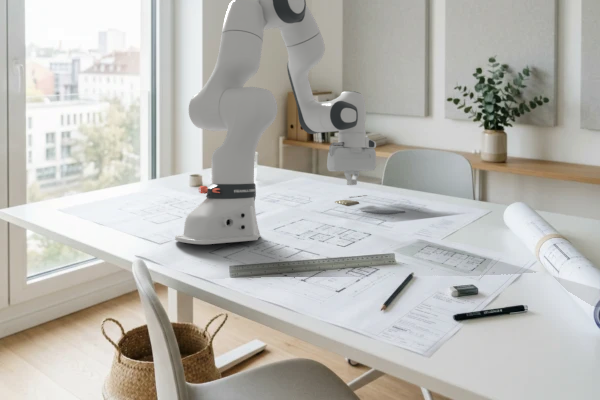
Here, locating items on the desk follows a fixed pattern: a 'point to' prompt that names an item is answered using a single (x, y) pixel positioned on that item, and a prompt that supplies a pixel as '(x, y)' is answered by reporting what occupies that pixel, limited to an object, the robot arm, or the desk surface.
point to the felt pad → (384, 211)
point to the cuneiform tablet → (348, 201)
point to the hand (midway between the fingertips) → (351, 185)
